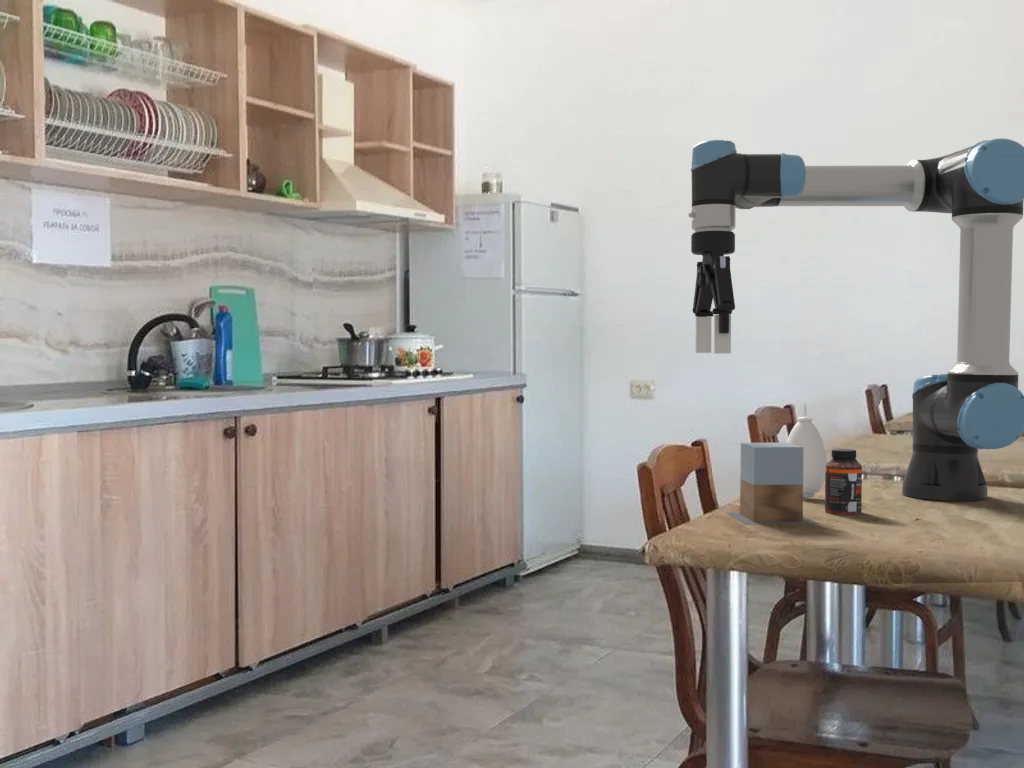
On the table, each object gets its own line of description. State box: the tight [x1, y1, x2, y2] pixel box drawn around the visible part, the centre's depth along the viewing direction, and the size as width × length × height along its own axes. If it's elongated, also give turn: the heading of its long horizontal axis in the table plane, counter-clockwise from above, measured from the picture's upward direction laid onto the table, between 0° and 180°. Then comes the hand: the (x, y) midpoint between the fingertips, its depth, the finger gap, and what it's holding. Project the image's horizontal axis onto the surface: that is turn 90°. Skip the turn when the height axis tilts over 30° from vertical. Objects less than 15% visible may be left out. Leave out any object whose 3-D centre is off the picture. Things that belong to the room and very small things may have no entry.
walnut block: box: [739, 479, 804, 522], centre depth 178 cm, size 8×8×6 cm
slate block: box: [740, 442, 803, 485], centre depth 178 cm, size 8×8×6 cm
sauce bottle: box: [785, 403, 828, 501], centre depth 204 cm, size 8×8×18 cm
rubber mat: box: [725, 511, 820, 526], centre depth 178 cm, size 12×12×1 cm
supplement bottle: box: [824, 448, 863, 516], centre depth 184 cm, size 6×6×11 cm
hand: (712, 353), depth 190 cm, fingers open, 13 cm apart
